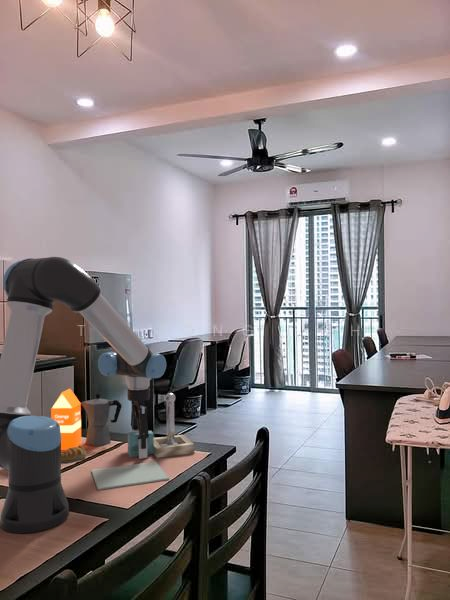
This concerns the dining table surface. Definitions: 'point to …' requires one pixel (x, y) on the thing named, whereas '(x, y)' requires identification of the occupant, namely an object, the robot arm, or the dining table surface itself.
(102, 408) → the coffeepot
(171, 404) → the stand
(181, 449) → the sponge holder
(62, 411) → the orange juice
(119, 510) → the dining table surface
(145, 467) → the mat
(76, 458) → the pastry
